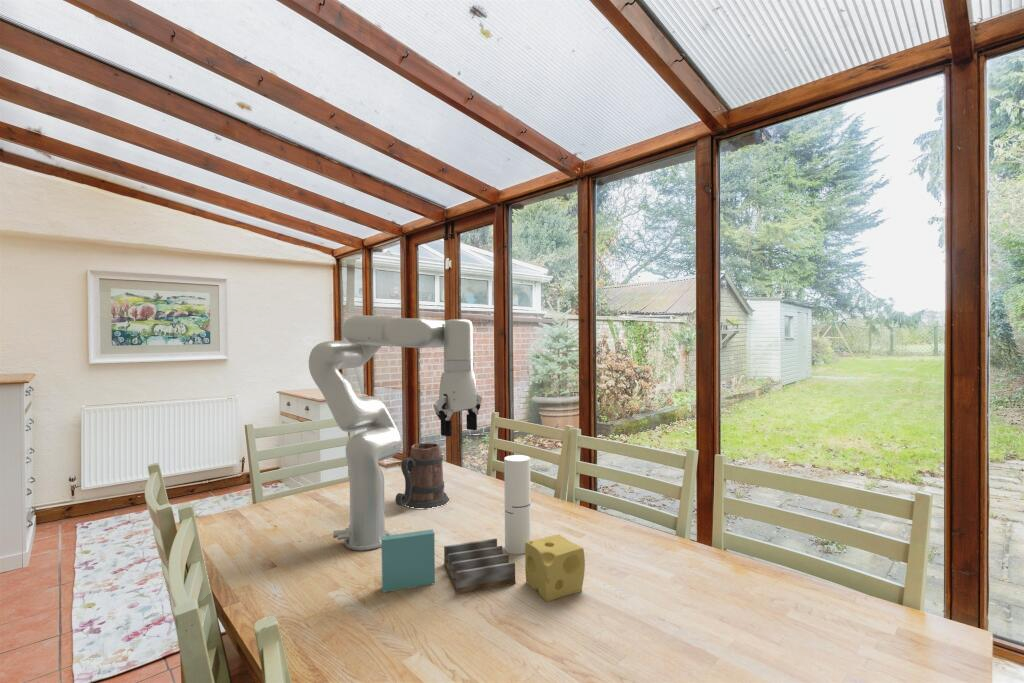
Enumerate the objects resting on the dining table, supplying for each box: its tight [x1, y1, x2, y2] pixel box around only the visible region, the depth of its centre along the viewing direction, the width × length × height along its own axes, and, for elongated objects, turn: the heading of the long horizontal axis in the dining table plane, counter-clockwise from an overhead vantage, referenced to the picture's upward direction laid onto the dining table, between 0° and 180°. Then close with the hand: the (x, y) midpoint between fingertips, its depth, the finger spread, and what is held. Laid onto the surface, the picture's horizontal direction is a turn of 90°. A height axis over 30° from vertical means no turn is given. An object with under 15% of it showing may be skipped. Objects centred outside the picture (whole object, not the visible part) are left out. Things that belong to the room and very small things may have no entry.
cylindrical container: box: [503, 454, 532, 555], centre depth 134 cm, size 7×7×25 cm
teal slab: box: [381, 528, 436, 593], centre depth 114 cm, size 12×2×12 cm, turn 109°
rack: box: [443, 538, 517, 595], centre depth 120 cm, size 14×16×5 cm
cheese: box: [524, 534, 586, 603], centre depth 113 cm, size 10×11×10 cm
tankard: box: [394, 442, 450, 508], centre depth 171 cm, size 24×17×20 cm
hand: (459, 432), depth 126 cm, fingers open, 9 cm apart
